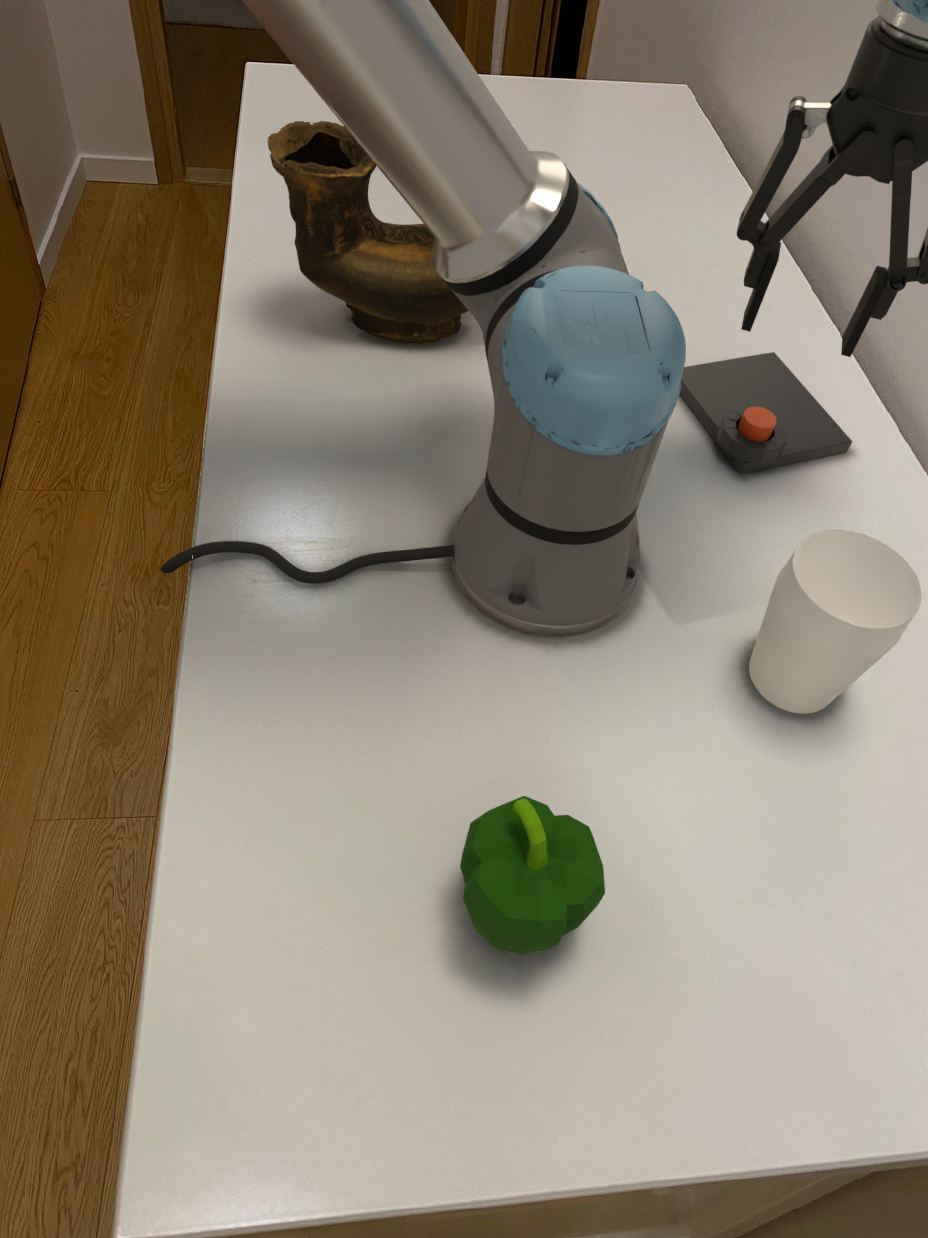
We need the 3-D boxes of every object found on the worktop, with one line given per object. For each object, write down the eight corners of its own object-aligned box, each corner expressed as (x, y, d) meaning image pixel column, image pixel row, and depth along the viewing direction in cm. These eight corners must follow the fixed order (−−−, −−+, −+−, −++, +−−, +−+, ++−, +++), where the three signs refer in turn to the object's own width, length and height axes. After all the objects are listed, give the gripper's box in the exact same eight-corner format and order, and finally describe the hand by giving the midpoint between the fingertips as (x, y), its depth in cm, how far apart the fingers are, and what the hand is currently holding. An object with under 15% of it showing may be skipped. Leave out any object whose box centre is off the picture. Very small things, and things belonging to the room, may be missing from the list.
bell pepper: (593, 971, 57) (632, 910, 50) (458, 978, 56) (476, 917, 49) (572, 842, 63) (605, 768, 55) (449, 846, 62) (464, 771, 54)
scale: (733, 480, 86) (744, 455, 84) (659, 381, 94) (668, 356, 92) (849, 455, 90) (863, 431, 87) (769, 362, 98) (779, 338, 95)
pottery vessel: (274, 344, 92) (259, 137, 76) (280, 280, 98) (268, 77, 83) (529, 355, 95) (565, 157, 79) (518, 292, 101) (549, 98, 86)
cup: (852, 740, 70) (931, 644, 60) (731, 713, 70) (790, 613, 61) (846, 645, 75) (917, 543, 66) (734, 620, 76) (789, 515, 66)
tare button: (748, 445, 85) (754, 430, 84) (731, 423, 87) (737, 408, 86) (776, 439, 86) (783, 425, 85) (759, 418, 88) (765, 403, 86)
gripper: (1086, 43, 62) (920, 339, 80) (776, -24, 64) (682, 280, 82) (1102, 88, 57) (921, 392, 75) (767, 15, 59) (669, 328, 77)
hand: (796, 333), depth 78 cm, fingers open, 8 cm apart
